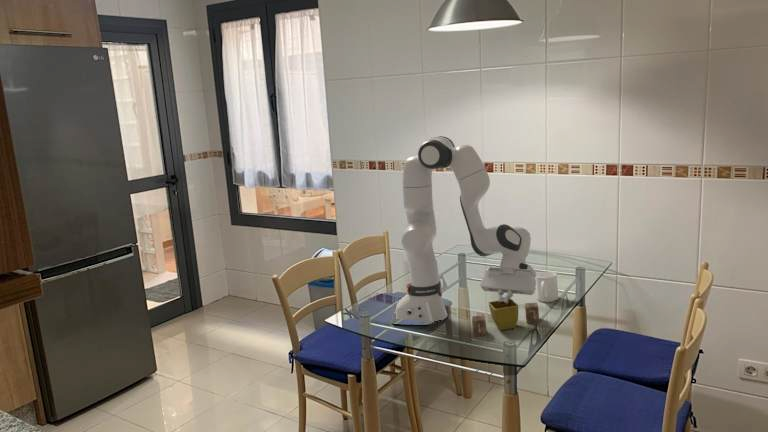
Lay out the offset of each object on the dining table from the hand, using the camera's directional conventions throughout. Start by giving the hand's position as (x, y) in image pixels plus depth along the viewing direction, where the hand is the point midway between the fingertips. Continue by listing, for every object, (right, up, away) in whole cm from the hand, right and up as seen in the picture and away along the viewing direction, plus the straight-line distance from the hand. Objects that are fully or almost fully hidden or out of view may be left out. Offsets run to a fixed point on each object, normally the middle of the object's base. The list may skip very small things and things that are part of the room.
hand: (502, 302), depth 209 cm
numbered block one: (-8, -11, -1) cm, 14 cm away
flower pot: (+1, -9, +2) cm, 10 cm away
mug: (+22, -3, +23) cm, 32 cm away
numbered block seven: (+12, -7, +5) cm, 15 cm away
